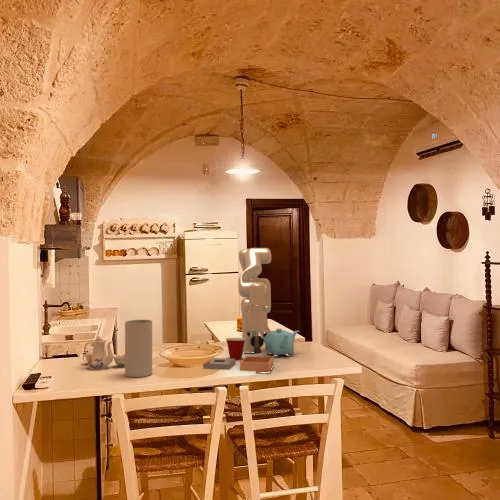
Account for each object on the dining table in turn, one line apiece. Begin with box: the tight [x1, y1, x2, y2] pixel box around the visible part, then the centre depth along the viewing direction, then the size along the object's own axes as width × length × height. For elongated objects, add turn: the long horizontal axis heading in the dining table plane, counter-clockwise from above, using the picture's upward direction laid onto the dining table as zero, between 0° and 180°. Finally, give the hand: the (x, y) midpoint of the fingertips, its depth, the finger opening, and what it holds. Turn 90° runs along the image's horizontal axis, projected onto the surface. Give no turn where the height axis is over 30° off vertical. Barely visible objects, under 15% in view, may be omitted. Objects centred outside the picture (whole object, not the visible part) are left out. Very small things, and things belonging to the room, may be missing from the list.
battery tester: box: [202, 357, 236, 371], centre depth 241 cm, size 13×13×4 cm
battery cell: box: [253, 334, 262, 354], centre depth 237 cm, size 4×4×9 cm
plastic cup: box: [225, 337, 246, 361], centre depth 258 cm, size 11×11×12 cm
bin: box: [239, 355, 275, 372], centre depth 237 cm, size 14×14×5 cm
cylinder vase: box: [124, 319, 153, 378], centre depth 228 cm, size 12×12×25 cm
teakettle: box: [259, 328, 300, 356], centre depth 272 cm, size 19×19×15 cm
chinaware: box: [82, 335, 125, 371], centre depth 245 cm, size 28×17×17 cm, turn 75°
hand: (257, 345), depth 237 cm, fingers closed on battery cell, 3 cm apart
